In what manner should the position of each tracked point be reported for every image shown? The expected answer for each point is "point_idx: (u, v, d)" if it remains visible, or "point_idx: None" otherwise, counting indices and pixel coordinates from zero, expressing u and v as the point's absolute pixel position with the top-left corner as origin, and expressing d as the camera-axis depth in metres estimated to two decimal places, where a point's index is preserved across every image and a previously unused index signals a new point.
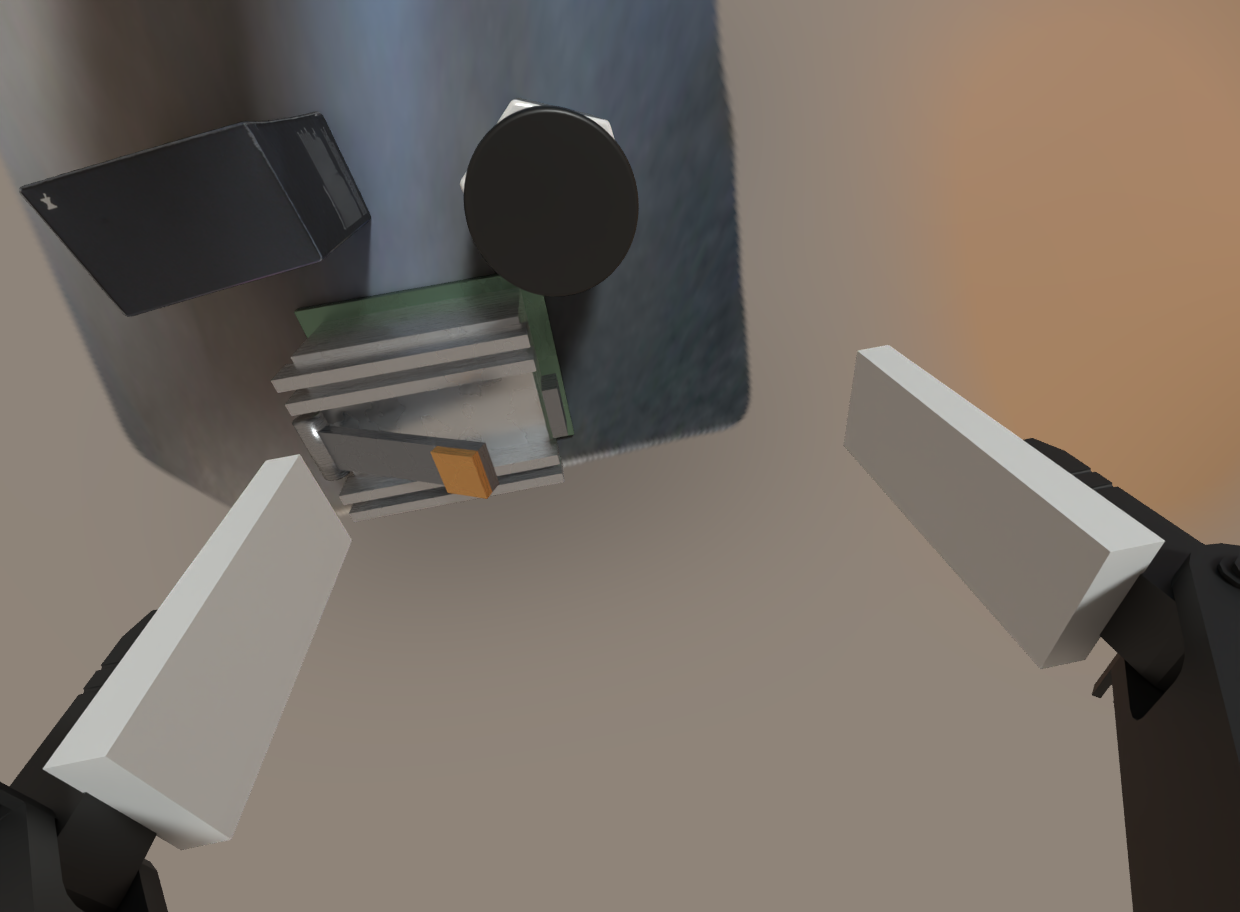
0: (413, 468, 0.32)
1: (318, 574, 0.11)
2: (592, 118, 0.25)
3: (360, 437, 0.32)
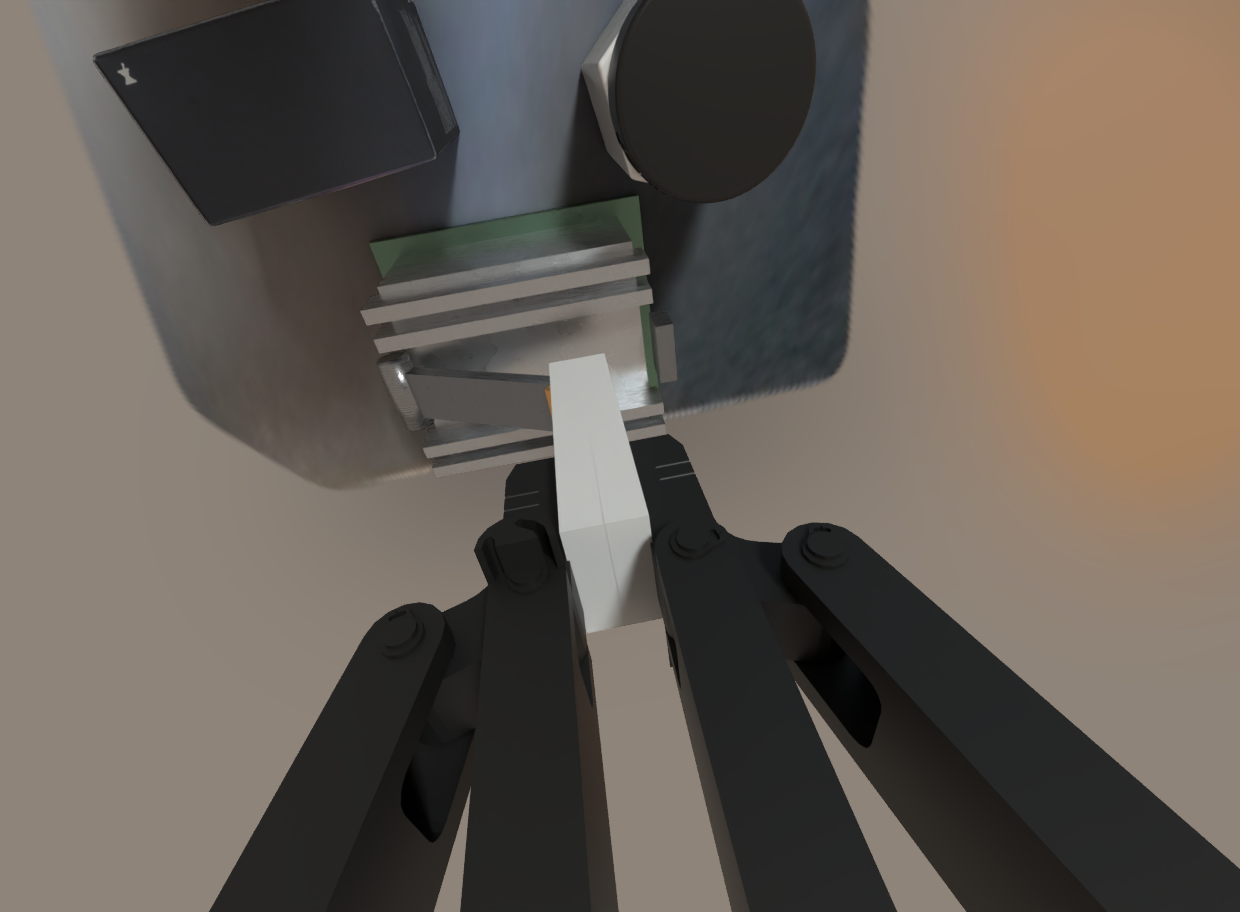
0: (516, 412, 0.28)
1: None
2: None
3: (456, 378, 0.28)
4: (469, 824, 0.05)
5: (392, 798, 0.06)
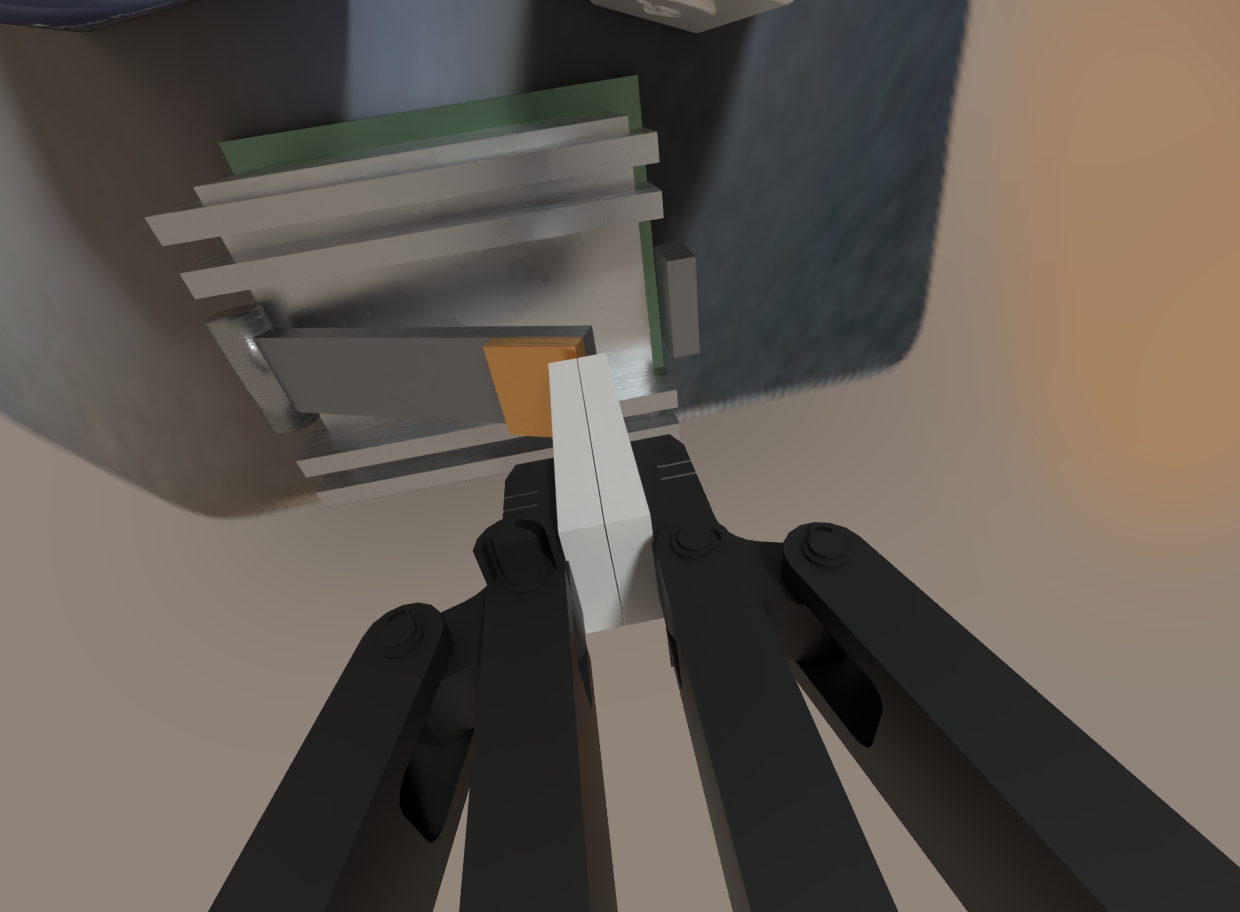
0: (439, 394, 0.17)
1: None
2: None
3: (336, 338, 0.17)
4: (468, 824, 0.05)
5: (391, 798, 0.06)
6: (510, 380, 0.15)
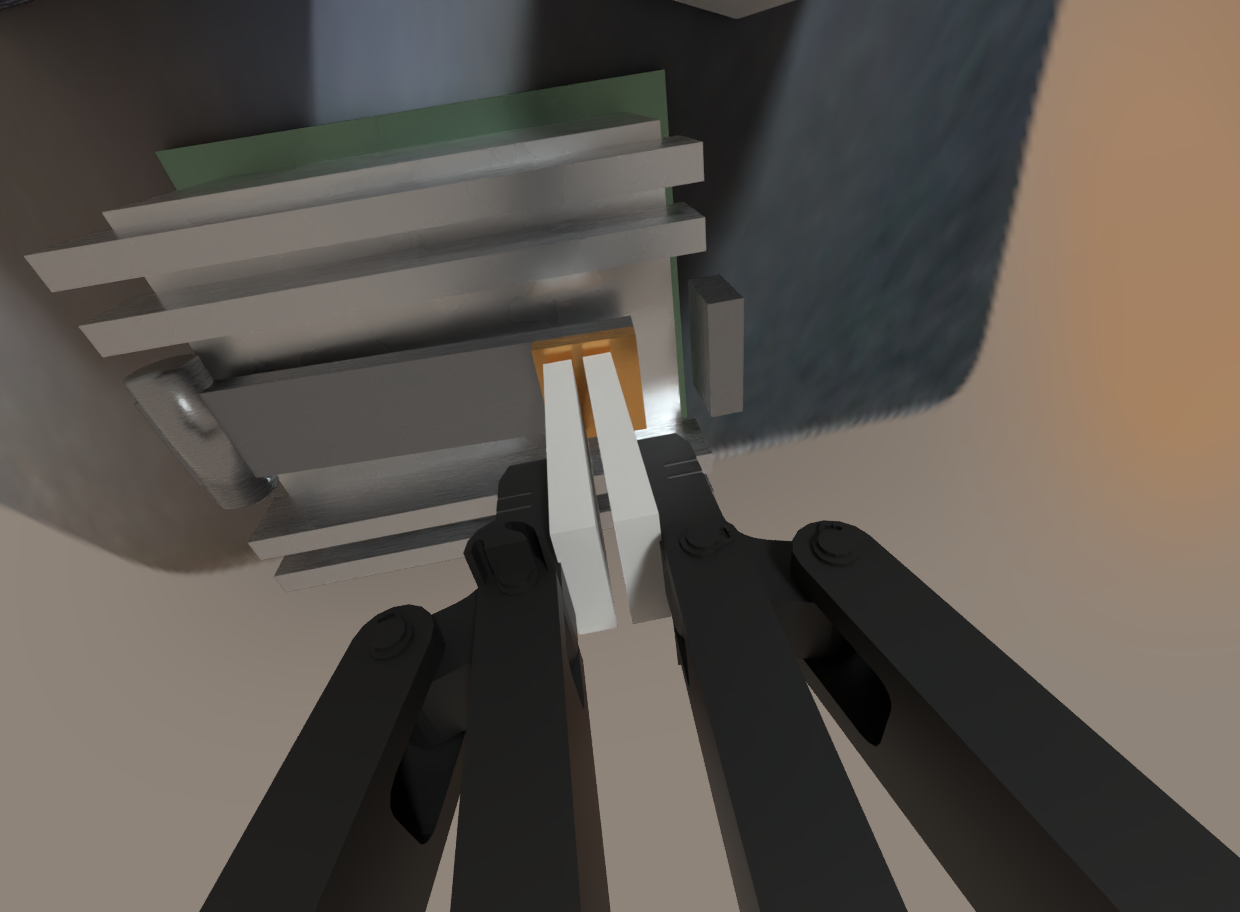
0: (462, 417, 0.15)
1: None
2: None
3: (326, 375, 0.14)
4: (459, 827, 0.05)
5: (381, 800, 0.06)
6: None
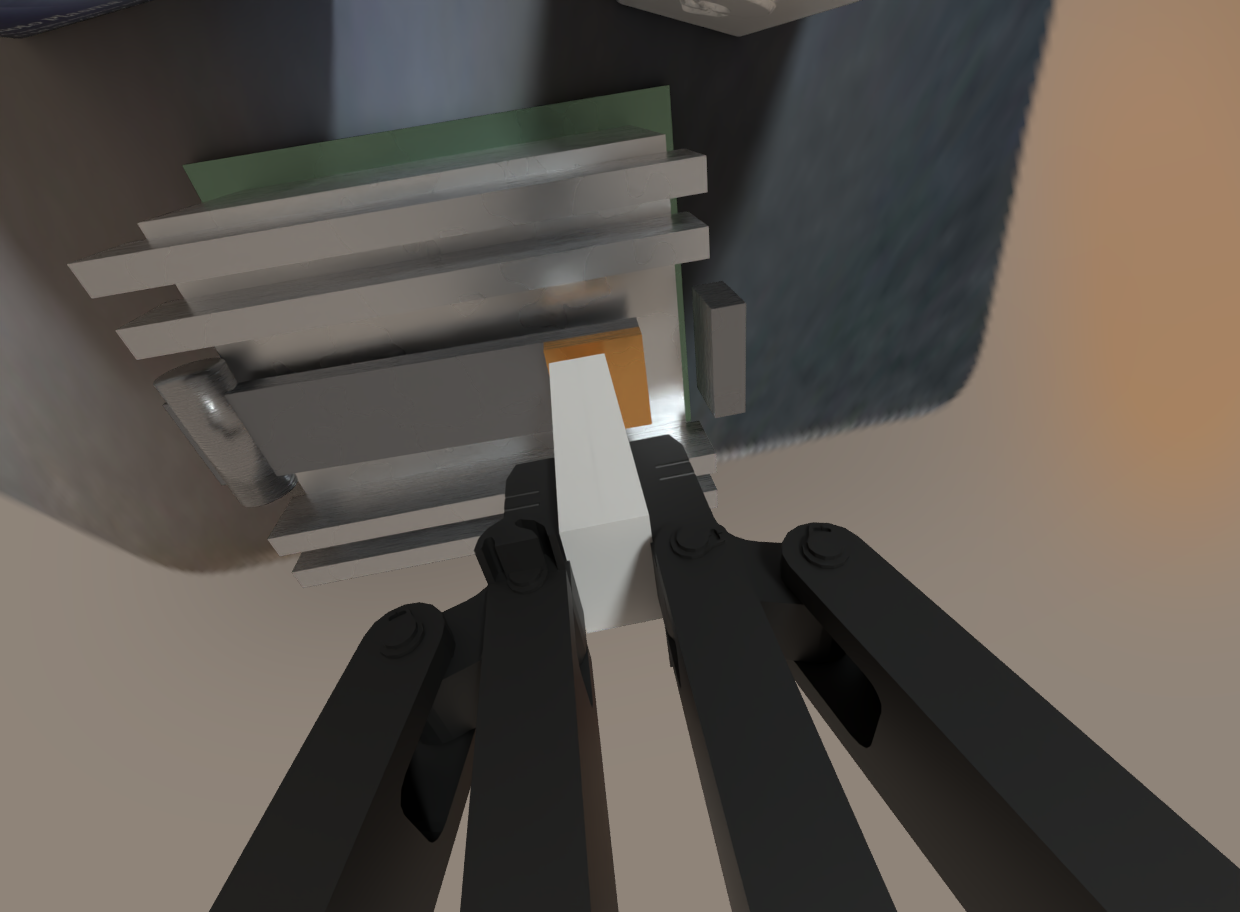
0: (476, 414, 0.16)
1: None
2: None
3: (347, 375, 0.15)
4: (469, 824, 0.05)
5: (392, 798, 0.06)
6: None
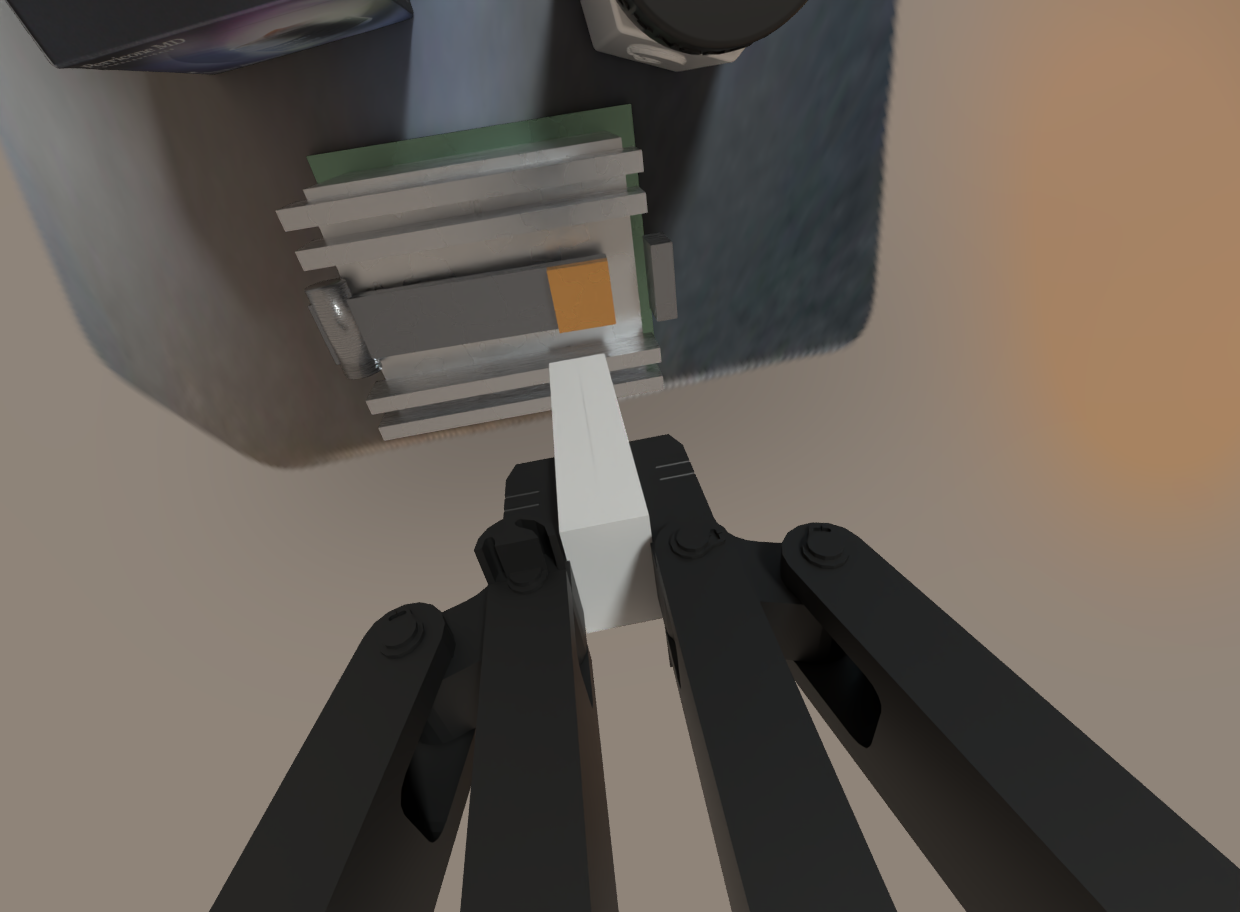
0: (503, 317, 0.25)
1: None
2: None
3: (423, 288, 0.24)
4: (469, 824, 0.05)
5: (392, 798, 0.06)
6: (563, 292, 0.24)
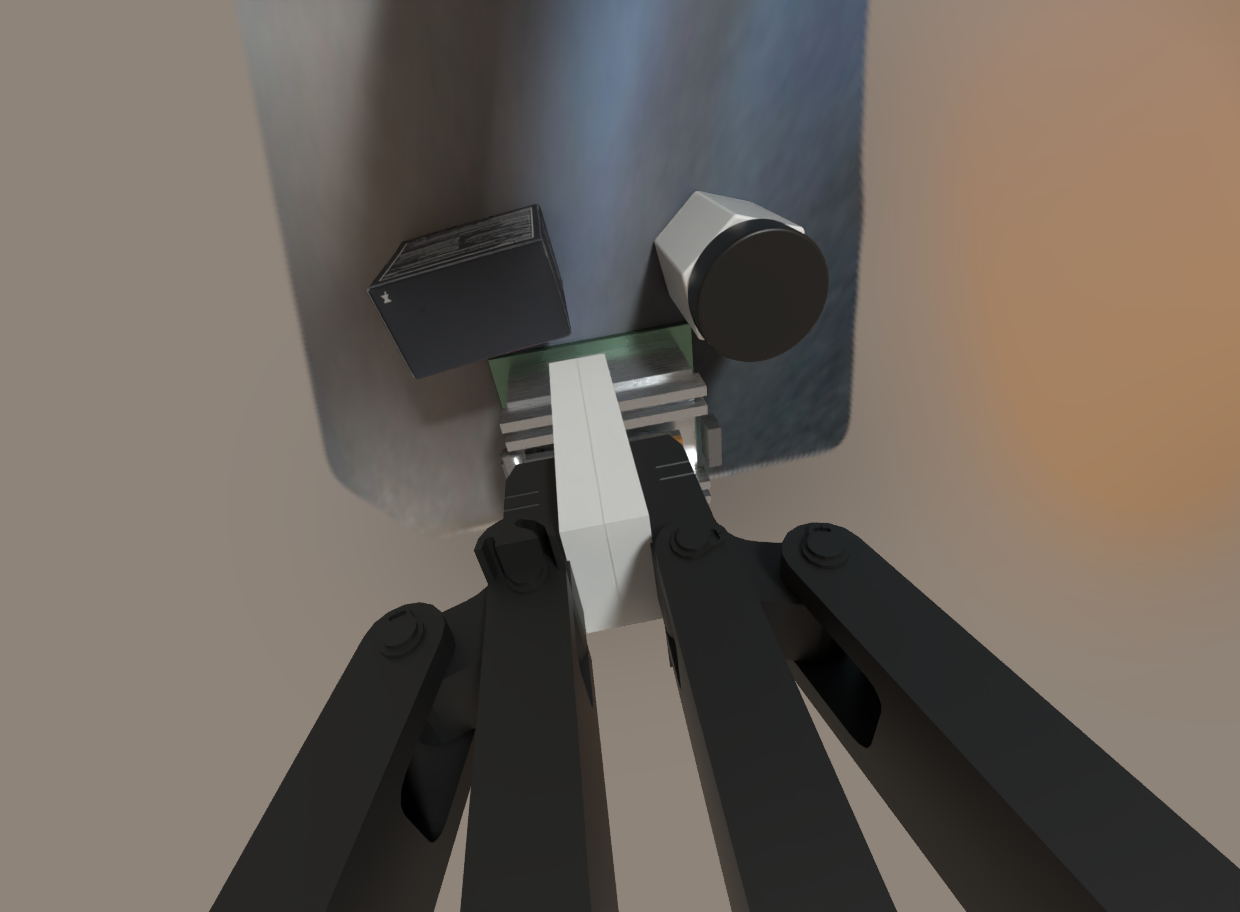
0: None
1: None
2: (791, 226, 0.31)
3: None
4: (469, 824, 0.05)
5: (392, 798, 0.06)
6: None
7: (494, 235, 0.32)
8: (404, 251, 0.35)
